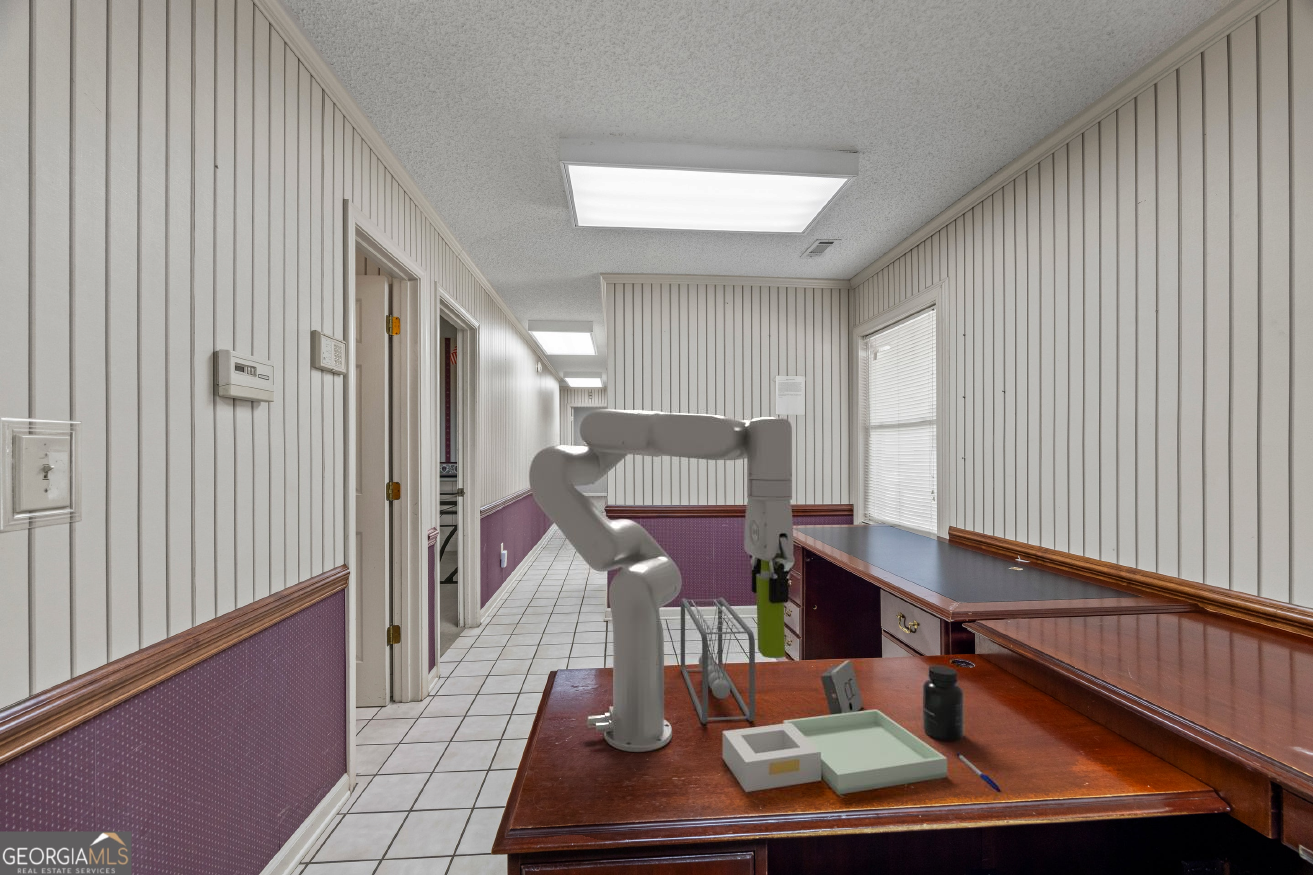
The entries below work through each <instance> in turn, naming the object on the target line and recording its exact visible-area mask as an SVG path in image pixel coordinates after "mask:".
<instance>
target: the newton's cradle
mask: <svg viewBox="0 0 1313 875" xmlns="http://www.w3.org/2000/svg"><path fill="white" fill-rule="evenodd" d="M689 602H690V603H692V605H693V607H694V608H695V609H696V613H697V615H696V613H695V612H694V610H693V608H692V607H691V605H690V604H689ZM696 602H714V603H715V604H716V606H715V607H716V608H715V609H712V610H711V609H707V610H705V609H703V610H699V608H698V605H696V604H695V603H696ZM723 607H724V608H725V609H726V611H727V612H728V613H729V614H730V616H731V617H732V618H733V619H734V620H735V622H736V623H737V624H738V625H739V626H740V627H741V628H742V629H743V631H741V629H739V627H738V626H737V625H736V624H735V622H734V621H733V620H732V618H730V617H729V615H728V614H727V612H726V611H725V610H724V609H723ZM686 611H687V613H688V615H689V617H690V618H691V620H692V622H693V624H694V626H695V628H696V629H697V631H698V632H699V634H700V637H701V654H700V655H699V657H698V665H699V667H700V668H687V667H686ZM705 611H706V612H708V611H710V612H711V611H713V612H715V614H714V618H713V619H707V620H706V618H705V617H704V616H709V614H704V615H703V614H702V613H701V612H705ZM716 616H717V624H716V625H715V622H716ZM725 617H726V618H727V623H726V624H724V621H725ZM707 621H711V622H712V621H713V624H712V628H711V625H709V624H708V622H707ZM729 622H730V623H731V624H729ZM724 626H725V627H726V629H725V631H723V627H724ZM728 626H729V627H730V626H731V631H727V630H728ZM714 627H716V631H713V630H714ZM733 627H734V628H735V630H737V631H733ZM734 634H738V635H739V634H740V635H741V634H747V636H748V652H749V653H748V670H749V673H748V686H749V688H748V689H749V690H748V697H749V698H748V700H749V701H748V707H747V704H746V703H745V701H744V699H743V698H742V696H741V695H740V693H739V691H738V690H737V688H736V686H735V685H734V683H733V681H732V680H731V677H730V676H729V674H728V673H727V671H726V666H727V660H728V654H729V649H730V644H731V638H732V635H734ZM712 635H715V636H714V641H713V636H712ZM723 635H724V640H723ZM727 635H730V636H729V641H728V646H727V653H726V657H725V662H724V663H723V653H724V648H725V642H726V636H727ZM716 639H717V651H716V652H715V644H716ZM711 643H712V644H711ZM755 648H756V641H755V634H754V632H753V630H752V629H751V628H750V626H748V624H747V623H746V622H745V621H744V620H743V619H742V618H741V616H739V614H738V613H737V612H736V611H735V610H734V608H733V607H731V605H730V604H729V603H728V602H727V601H726V600H725V599H724V597H719V598H715V599H711V598H710V599H686V598H684V597H683V598H681V600H680V670H681V674H682V675H683V678H684V681H685V684H686V686H687V689H688V691H689V694H690V697H691V699H692V702H693V704H694V707H695V710H696V712H697V715H698V717H699V720H700V722H701V724H706V723H707V722H708V721H723V720H724V721H725V720H744V719H745V720H748V721H749V722H754V720H755V718H756V649H755ZM718 665H723V666H718ZM681 667H682V668H681ZM683 667H684V668H683ZM686 668H687V669H686ZM698 671H701V679H702V680H701V703H700V701H699V697H698V696H697V693H696V691H695V689H694V686H693V683H692V681H691V678H690V676H689V673H688V672H698ZM709 687H710V689H711V691H712V692H711V693H712V694H713V696H714V697H716V698H717V699H719V700H724V699H726V698H728V696H730V693H731V692H732V694H733V696H734V698H735V700H736V702H737V703H738V706H739V707H740V709H741V710H742V712H743V714H744V715H745V716H727V717H723V716H721V717H709ZM748 708H749V709H748Z"/></svg>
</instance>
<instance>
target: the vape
mask: <svg viewBox="0 0 1313 875" xmlns="http://www.w3.org/2000/svg"><path fill="white" fill-rule="evenodd" d="M774 558H780V555H775V557H774ZM775 564H776V569H777V567H778V565H779V564H781V563H775ZM769 578H772V576H771V571H770V565H769V560H768V561H764V560H761V573H759V574H756V586H757V593H756V618H757V619H756V621H757V622H756V623H757V627H756V628H757V650H758V652H759V653H760V654H761V656H762V657H763V658H767V659H781V658H785V657H786V643H785V642H786V641H785V640H786V639H785V638H786V637H785V633H786V632H785V606H784V604H785V603H771V602H769Z"/></svg>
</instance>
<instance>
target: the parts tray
mask: <svg viewBox="0 0 1313 875" xmlns="http://www.w3.org/2000/svg"><path fill="white" fill-rule="evenodd" d="M786 723H792V724H793V725H794V726H795V727H796V728H797V729H798V730H799V731H800V732H801V733H802V734H803V735H804V736H805V737H806V738H807V739H808V740H809V741H810V742H811V743H812V744H813V745H814V746H815V747H817V748H818V749H819V750H820V751H821V779H822V780H823V781H825V783H826V784H827V785H828V786H829V787H830V788H831V789H832V790H833V791H834V792H835V793H836V795H839V796H841V795H847V794H850V793H857V792H863V791H871V790H875V789H881V788H882V789H883V788H888V787H896V786H900V785H906V784H911V783H918V782H924V781H926V782H927V781H931V780H932V781H933V780H938V779H944V778H947V777H948V758H947V757H946V756H944V755H943V754H942V753H940V752H939V751H938V750H936V749H935V748H934V747H931V746H930V745H929V744H927V743H926V742H925V741H923V740H922V739H920V738H919V737H918V736H916V735H915V734H913V733H912V732H910V731H909V730H907V729H906V728H904V727H903V726H902V725H900V724H899V723H897V722H896V721H895V720H893V719H891V718H890V717H889V716H888V715H886V714H884V713H883V712H882V711H880V710H878V709H867V710H861V711H859V710H858V712H850V713H842V714H834V715H831V714H827V715H819V716H811V717H803V718H796V719H795V718H793V719H786V720H783V721H782V724H786Z"/></svg>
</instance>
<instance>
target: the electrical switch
mask: <svg viewBox="0 0 1313 875" xmlns="http://www.w3.org/2000/svg"><path fill="white" fill-rule="evenodd" d="M820 679H821V685H822V687H823V690H824V694H825V699H826V701H827V705H828V709H829V712H830V715H834V714H842V713H850V712H859V710H861V708H863V704H864V702H863V698H862V693H861V691H860V687H859V684H858V681H857V680H858V679H857V676H856V673H855V670H854V667H853V663H852V661H851V660H850V659H849V660H847V659H846V660H845V661H844V662H843V663H840V664H834V665H832V666H831V667H830V668H829V669H827V670H826V671H825V672H823V673H822V674H821V675H820Z"/></svg>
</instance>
